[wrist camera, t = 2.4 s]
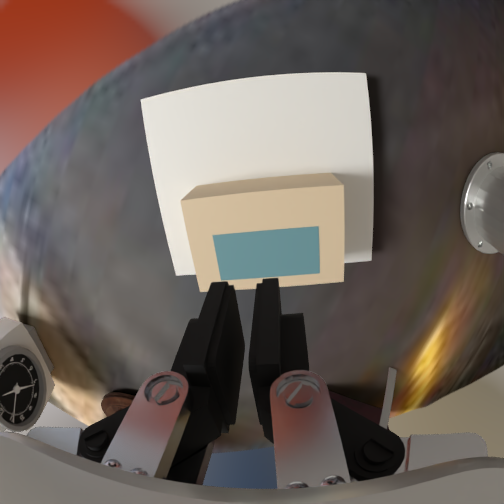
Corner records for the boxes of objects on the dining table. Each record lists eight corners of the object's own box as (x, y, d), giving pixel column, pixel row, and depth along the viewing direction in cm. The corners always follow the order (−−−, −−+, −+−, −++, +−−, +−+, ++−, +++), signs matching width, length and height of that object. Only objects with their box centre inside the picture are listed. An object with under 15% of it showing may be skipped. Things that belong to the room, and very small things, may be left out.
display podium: (359, 76, 22) (365, 73, 20) (365, 252, 30) (371, 260, 28) (149, 100, 24) (140, 99, 22) (181, 266, 32) (176, 275, 30)
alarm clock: (66, 381, 46) (24, 455, 28) (39, 371, 46) (-3, 437, 28) (32, 311, 38) (-35, 390, 20) (5, 304, 39) (-57, 372, 20)
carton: (330, 172, 24) (343, 185, 20) (333, 254, 28) (343, 281, 23) (196, 185, 26) (180, 200, 21) (211, 264, 29) (200, 292, 25)
